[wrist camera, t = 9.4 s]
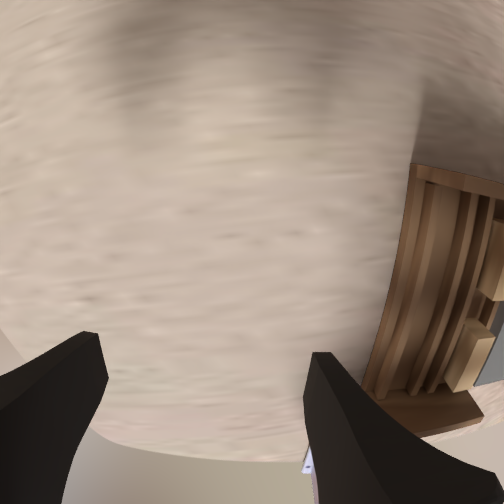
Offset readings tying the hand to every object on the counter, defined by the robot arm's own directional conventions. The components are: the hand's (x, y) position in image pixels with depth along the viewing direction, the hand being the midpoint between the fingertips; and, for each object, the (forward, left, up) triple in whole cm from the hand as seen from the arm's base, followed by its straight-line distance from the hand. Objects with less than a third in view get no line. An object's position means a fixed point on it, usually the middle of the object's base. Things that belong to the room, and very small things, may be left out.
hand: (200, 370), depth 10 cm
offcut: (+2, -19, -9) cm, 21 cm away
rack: (-2, -16, -10) cm, 19 cm away
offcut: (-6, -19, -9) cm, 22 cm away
